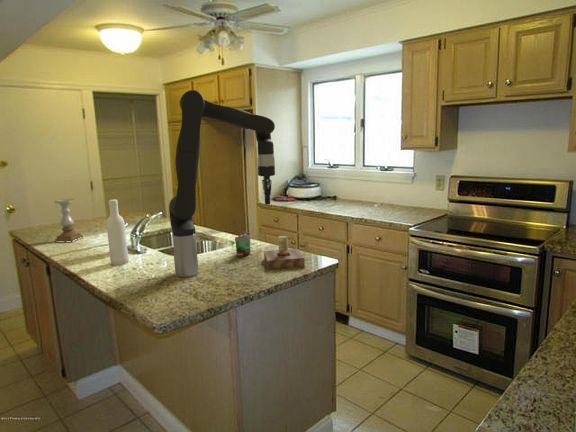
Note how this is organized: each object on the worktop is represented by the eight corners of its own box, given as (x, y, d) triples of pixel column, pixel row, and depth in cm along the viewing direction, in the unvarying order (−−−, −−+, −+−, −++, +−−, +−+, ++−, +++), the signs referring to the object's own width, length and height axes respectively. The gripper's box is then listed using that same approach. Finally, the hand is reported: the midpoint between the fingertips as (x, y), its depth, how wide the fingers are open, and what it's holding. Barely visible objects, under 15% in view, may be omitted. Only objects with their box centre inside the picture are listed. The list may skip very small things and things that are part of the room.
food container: (248, 258, 196) (247, 237, 194) (235, 257, 197) (234, 237, 195) (255, 251, 208) (254, 231, 206) (243, 250, 209) (242, 231, 207)
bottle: (107, 263, 194) (100, 200, 188) (124, 259, 200) (117, 198, 194) (115, 266, 189) (108, 201, 183) (131, 262, 194) (125, 199, 189)
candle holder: (67, 237, 251) (61, 198, 246) (83, 238, 249) (78, 198, 245) (54, 242, 240) (49, 201, 235) (72, 242, 238) (66, 201, 234)
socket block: (267, 269, 177) (267, 260, 177) (264, 259, 193) (264, 251, 192) (304, 266, 180) (304, 258, 179) (298, 256, 195) (297, 248, 195)
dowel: (279, 264, 184) (278, 238, 182) (278, 261, 188) (277, 236, 186) (289, 263, 185) (288, 237, 183) (287, 261, 189) (286, 235, 187)
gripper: (256, 164, 186) (257, 202, 189) (258, 166, 173) (260, 206, 176) (272, 163, 187) (274, 201, 190) (276, 165, 174) (277, 206, 177)
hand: (267, 204), depth 183 cm, fingers closed
